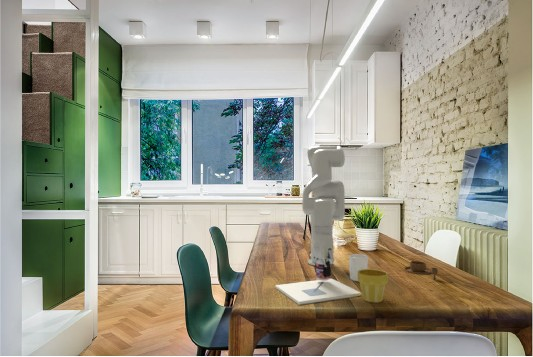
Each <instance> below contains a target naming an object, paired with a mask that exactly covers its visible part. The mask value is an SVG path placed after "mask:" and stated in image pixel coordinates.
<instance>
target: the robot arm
mask: <svg viewBox="0 0 533 357" xmlns="http://www.w3.org/2000/svg"><path fill="white" fill-rule="evenodd" d="M306 155H307V159H308V163H309V166H310V167H311V172H312V178H311V179H310V180H309V181H308V182H306V185H305V187H304V188H303V191H302V203H301V204H302V206H301V207H302V211H303V213H304V215H307V216H309V218H310V226H311V230H310V232H311V234H310V235H311V237H310V238H311V239H310V241H311V242H310V243H311V244H310V246H311V247H310V249H311V250H310V252H311V253H309V257H310V259H308V260H307V263H308V264H309V265H310V266H314V272H315V273H316V261H317V260H318V258H319V259H322V260H323V261H324V267H323V276H324V277H328V276H329V277H331V276H332V275H331V274H332V273H331V271H332V269H331V268H332V266H333V265H334V261H335V258H334V252H335V251H334V239H333V222H335V221H337V222H339V221H342V220H344V218H345V213H346V212H345V210H346V209H345V204H346V203H345V202H346V201H345V194H346V193H345V186H344V183H343V181H341V180H332V179H333V174H332V173H333V171H332V168H342V167H343V166H344V164H345V161H346V156H345V152H344V149H343V147H342V146H341V145H314V146H311V147H309V148H308V149H307V154H306ZM311 193H312V195H313V197H310V194H311ZM327 257H328V258H327ZM326 258H327V259H326ZM326 260H328V261H327V263H326Z"/></svg>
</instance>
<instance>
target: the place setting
mask: <svg viewBox="0 0 533 357" xmlns="http://www.w3.org/2000/svg"><path fill="white" fill-rule="evenodd" d="M408 269H410V270H408ZM404 271H405V272H407V273H410V274H412V275H414V274H415V275H430V274H431V275H432V279H433V280H434V281H436V279H437V278H436V276H437V275H438V273H439V272H438V271H439V269H438V267H431V268H427V263H426V262H424V261H419V260H413V261H410V262H409V266H405V267H404ZM425 271H428V272H425ZM398 272H400V270H399V269H398Z"/></svg>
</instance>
